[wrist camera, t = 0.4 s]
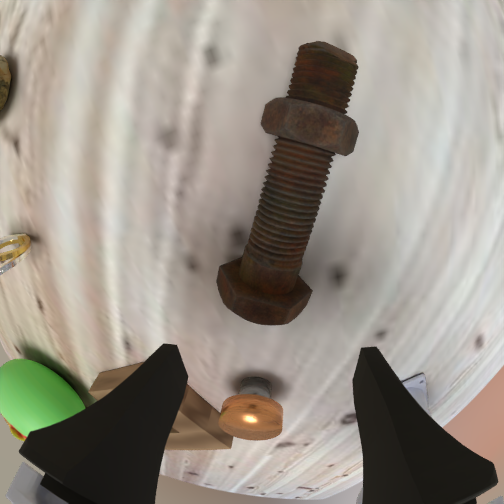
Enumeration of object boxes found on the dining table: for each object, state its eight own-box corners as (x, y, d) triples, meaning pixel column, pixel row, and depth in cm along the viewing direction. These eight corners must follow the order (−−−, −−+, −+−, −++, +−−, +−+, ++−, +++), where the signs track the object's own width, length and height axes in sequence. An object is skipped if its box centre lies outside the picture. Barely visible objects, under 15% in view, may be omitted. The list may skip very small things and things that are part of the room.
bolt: (332, 71, 14) (274, 273, 21) (263, 42, 12) (209, 274, 18) (402, 71, 10) (316, 324, 16) (326, 20, 7) (239, 335, 14)
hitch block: (235, 425, 29) (230, 448, 26) (169, 430, 33) (162, 449, 30) (160, 357, 25) (147, 383, 22) (99, 372, 28) (88, 392, 25)
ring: (13, 246, 22) (-34, 281, 15) (7, 220, 20) (-44, 251, 13) (47, 256, 21) (-6, 299, 14) (41, 225, 20) (-18, 265, 13)
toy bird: (90, 373, 29) (41, 455, 16) (111, 424, 37) (82, 486, 24) (10, 326, 30) (-38, 382, 16) (39, 384, 37) (7, 433, 24)
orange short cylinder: (293, 393, 25) (292, 435, 20) (246, 404, 27) (240, 442, 22) (267, 362, 23) (262, 408, 19) (217, 376, 25) (205, 417, 20)
